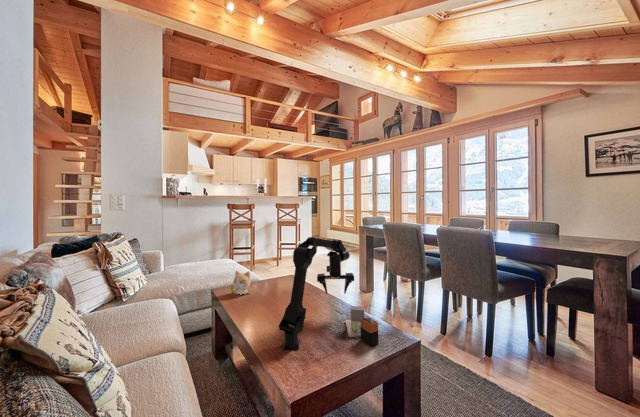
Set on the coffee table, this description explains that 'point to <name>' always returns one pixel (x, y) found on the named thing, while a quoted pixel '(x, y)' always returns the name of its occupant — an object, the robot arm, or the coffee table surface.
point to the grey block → (356, 315)
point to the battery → (369, 331)
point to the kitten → (242, 283)
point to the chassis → (352, 330)
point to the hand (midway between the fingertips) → (335, 293)
